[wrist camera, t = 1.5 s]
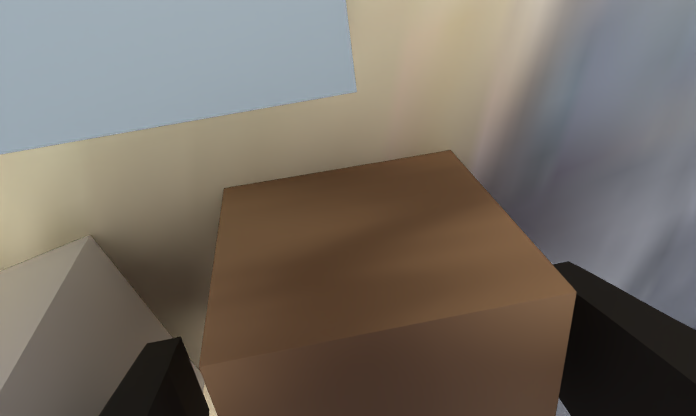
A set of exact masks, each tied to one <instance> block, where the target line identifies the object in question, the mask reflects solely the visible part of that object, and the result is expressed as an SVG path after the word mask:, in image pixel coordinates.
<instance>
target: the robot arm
mask: <svg viewBox="0 0 696 416" xmlns="http://www.w3.org/2000/svg"><path fill="white" fill-rule="evenodd" d="M553 266H554V267H555V268H556V269H557V270H558V271H559V273H560V274H561V275H562V276H563V277H564V278H565V279H566V280H567V282H568V283H569V284H570V285H571V286H572V287H573V288H574V289H575V291H576V298H575V304H574V310H573V316H572V322H571V328H570V333H569V339H568V345H567V351H566V357H565V363H564V369H563V374H562V380H561V386H560V392H559V398H560V400H561V401H562V403H563V404H564V406H565V407H566V409H567V410H568V412H569V413H570V415H571V416H696V330H694V329H692V328H690V327H688V326H686V325H685V324H683V323H681V322H679V321H677V320H675V319H673V318H671V317H670V316H668V315H666V314H664V313H662V312H660V311H659V310H657V309H655V308H653V307H651V306H650V305H648V304H646V303H644V302H642V301H640V300H639V299H637V298H635V297H633V296H631V295H630V294H628V293H626V292H624V291H623V290H621V289H619V288H617V287H615V286H614V285H612V284H610V283H608V282H606V281H605V280H603V279H601V278H599V277H597V276H596V275H594V274H592V273H590V272H588V271H586V270H584V269H583V268H581V267H579V266H577V265H575V264H573V263H571V262H563V263H558V264H553ZM99 416H209V408H208V405H207V403H206V400H205V397H204V395H203V392H202V390H201V387H200V385H199V382H198V379H197V377H196V374H195V372H194V369H193V367H192V364H191V362H190V359H189V356H188V354H187V351H186V349H185V346H184V344H183V341H182V339H181V337H177V338H172V339H167V340H162V341H156V342H151V343H147V344H146V345H145V347H144V348H143V349H142V351H141V352H140V354H139V355H138V357H137V358H136V360H135V361H134V363H133V364H132V366H131V367H130V369H129V370H128V372H127V373H126V375H125V376H124V378H123V379H122V381H121V383H120V384H119V386H118V387H117V389H116V390H115V392H114V393H113V395H112V396H111V398H110V399H109V401H108V402H107V404H106V405H105V407H104V408H103V410H102V411H101V413H100V414H99Z"/></svg>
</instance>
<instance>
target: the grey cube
mask: <svg viewBox="0 0 696 416" xmlns="http://www.w3.org/2000/svg"><path fill="white" fill-rule="evenodd" d="M167 339H172V336H171V335H170V334H169V333H168V331H167V330H166V329H165V328H164V326H163V325H162V324H161V323H160V321H159V320H158V319H157V318H156V316H155V315H154V314H153V313H152V311H151V310H150V309H149V308H148V306H147V305H146V304H145V303H144V301H143V300H142V299H141V298H140V296H139V295H138V294H137V293H136V291H135V290H134V289H133V288H132V286H131V285H130V284H129V283H128V281H127V280H126V279H125V278H124V276H123V275H122V274H121V273H120V271H119V270H118V269H117V268H116V266H115V265H114V264H113V263H112V261H111V260H110V259H109V258H108V256H107V255H106V254H105V253H104V251H103V250H102V249H101V248H100V246H99V245H98V244H97V243H96V241H95V240H94V239H93V238H92V236H91V235H88V236H85V237H83V238H80V239H78V240H75V241H73V242H71V243H68V244H66V245H63V246H61V247H58V248H56V249H53V250H51V251H48V252H46V253H44V254H41V255H39V256H36V257H34V258H31V259H29V260H26V261H24V262H21V263H19V264H17V265H14V266H12V267H9V268H7V269H4V270H2V271H0V416H99V414H100V413H101V411H102V410H103V408H104V407H105V405H106V404H107V402H108V401H109V399H110V398H111V396H112V395H113V393H114V392H115V390H116V389H117V387H118V386H119V384H120V383H121V381H122V379H123V378H124V376H125V375H126V373H127V372H128V370H129V369H130V367H131V366H132V364H133V363H134V361H135V360H136V358H137V357H138V355H139V354H140V352H141V351H142V349H143V348H144V347H145V345H146V344H147V343H151V342H156V341H162V340H167ZM190 362H191V364H192V367H193V369H194V372H195V374H196V377H197V379H198V382H199V385H200V387H201V390H202V392H203V389H204V379H203V376H202V374H201V373H200V371H199V370H198V369H197V368H196V366H195V365H194V364H193V363H192V361H191V360H190Z"/></svg>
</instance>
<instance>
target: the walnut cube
mask: <svg viewBox="0 0 696 416" xmlns="http://www.w3.org/2000/svg"><path fill="white" fill-rule="evenodd" d="M575 298H576V291H575V289H574V288H573V287H572V286H571V285H570V284H569V283H568V282H567V280H566V279H565V278H564V277H563V276H562V275H561V274H560V273H559V271H558V270H557V269H556V268H555V267H554V266H553V265H552V264H551V262H550V261H549V260H548V259H547V258H546V257H545V256H544V255H543V253H542V252H541V251H540V250H539V249H538V248H537V247H536V246H535V244H534V243H533V242H532V241H531V240H530V239H529V238H528V237H527V235H526V234H525V233H524V232H523V231H522V230H521V229H520V228H519V226H518V225H517V224H516V223H515V222H514V221H513V220H512V219H511V217H510V216H509V215H508V214H507V213H506V212H505V211H504V210H503V209H502V207H501V206H500V205H499V204H498V203H497V202H496V201H495V200H494V198H493V197H492V196H491V195H490V194H489V193H488V192H487V191H486V189H485V188H484V187H483V186H482V185H481V184H480V183H479V182H478V180H477V179H476V178H475V177H474V176H473V175H472V174H471V173H470V171H469V170H468V169H467V168H466V167H465V166H464V165H463V164H462V162H461V161H460V160H459V159H458V158H457V157H456V156H455V155H454V153H453V152H452V151H451V150H448V151H442V152H436V153H430V154H424V155H419V156H413V157H407V158H401V159H395V160H389V161H383V162H377V163H371V164H365V165H359V166H353V167H348V168H342V169H336V170H330V171H324V172H318V173H312V174H306V175H300V176H294V177H288V178H282V179H277V180H271V181H265V182H259V183H253V184H247V185H241V186H235V187H229V188H224V192H223V199H222V206H221V213H220V220H219V227H218V235H217V242H216V249H215V256H214V263H213V270H212V277H211V284H210V291H209V298H208V306H207V313H206V320H205V327H204V334H203V341H202V348H201V355H200V362H199V369H200V371H201V374H202V376H203V379H204V382H205V384H206V387H207V389H208V392H209V395H210V397H211V400H212V402H213V405H214V408H215V410H216V413H217V415H218V416H555V415H556V410H557V404H558V398H559V392H560V386H561V380H562V374H563V369H564V363H565V357H566V351H567V345H568V339H569V333H570V328H571V322H572V316H573V310H574V304H575Z"/></svg>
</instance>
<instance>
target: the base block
mask: <svg viewBox="0 0 696 416" xmlns="http://www.w3.org/2000/svg"><path fill="white" fill-rule="evenodd" d="M354 92H357V89H356V81H355V73H354V65H353V57H352V48H351V40H350V32H349V24H348V16H347V7H346V0H0V154H5V153H11V152H17V151H23V150H28V149H34V148H40V147H45V146H51V145H57V144H63V143H68V142H74V141H80V140H85V139H91V138H97V137H102V136H108V135H114V134H120V133H125V132H131V131H137V130H142V129H148V128H154V127H160V126H165V125H171V124H177V123H182V122H188V121H194V120H200V119H205V118H211V117H217V116H222V115H228V114H234V113H239V112H245V111H251V110H257V109H262V108H268V107H274V106H279V105H285V104H291V103H297V102H302V101H308V100H314V99H319V98H325V97H331V96H336V95H342V94H348V93H354Z"/></svg>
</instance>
